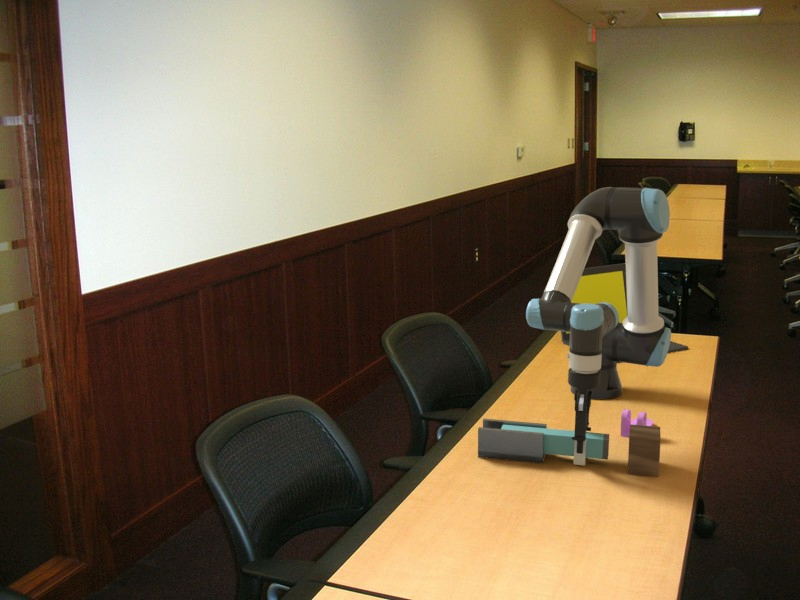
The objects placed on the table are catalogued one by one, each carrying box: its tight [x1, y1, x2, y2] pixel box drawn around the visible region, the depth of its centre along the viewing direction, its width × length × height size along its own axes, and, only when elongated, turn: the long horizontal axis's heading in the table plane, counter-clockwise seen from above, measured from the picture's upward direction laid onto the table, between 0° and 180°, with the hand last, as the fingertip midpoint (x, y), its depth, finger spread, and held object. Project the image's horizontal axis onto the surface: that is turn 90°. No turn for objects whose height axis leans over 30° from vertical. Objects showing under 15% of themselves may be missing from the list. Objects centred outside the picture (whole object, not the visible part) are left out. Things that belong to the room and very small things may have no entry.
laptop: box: [560, 263, 689, 364], centre depth 301 cm, size 33×35×26 cm
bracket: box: [620, 408, 654, 439], centre depth 222 cm, size 13×6×7 cm, turn 147°
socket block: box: [627, 424, 661, 478], centre depth 198 cm, size 9×7×9 cm
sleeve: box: [477, 418, 548, 465], centre depth 207 cm, size 7×16×8 cm, turn 73°
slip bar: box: [501, 425, 610, 461], centre depth 204 cm, size 4×26×5 cm, turn 73°
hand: (580, 460), depth 203 cm, fingers closed on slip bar, 4 cm apart
